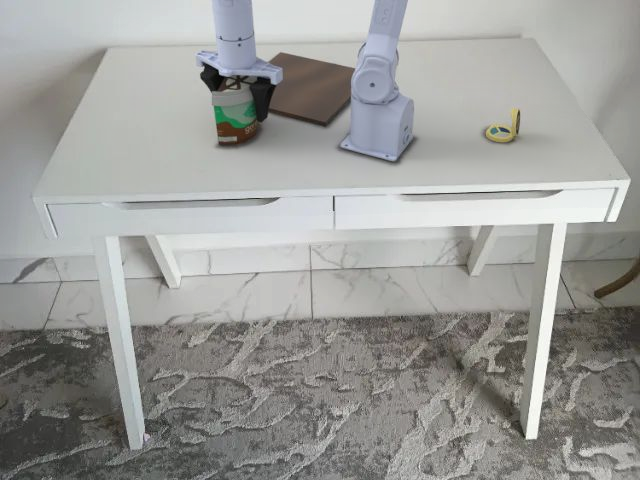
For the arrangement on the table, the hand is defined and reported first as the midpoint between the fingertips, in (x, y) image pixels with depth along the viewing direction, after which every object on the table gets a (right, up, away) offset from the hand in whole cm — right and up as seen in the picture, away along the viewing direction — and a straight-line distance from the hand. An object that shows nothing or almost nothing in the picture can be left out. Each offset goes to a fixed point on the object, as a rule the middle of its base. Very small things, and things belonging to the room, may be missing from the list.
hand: (243, 114), depth 106 cm
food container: (0, -3, +2) cm, 4 cm away
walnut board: (+9, +7, +14) cm, 18 cm away
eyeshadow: (+42, -3, +1) cm, 42 cm away
